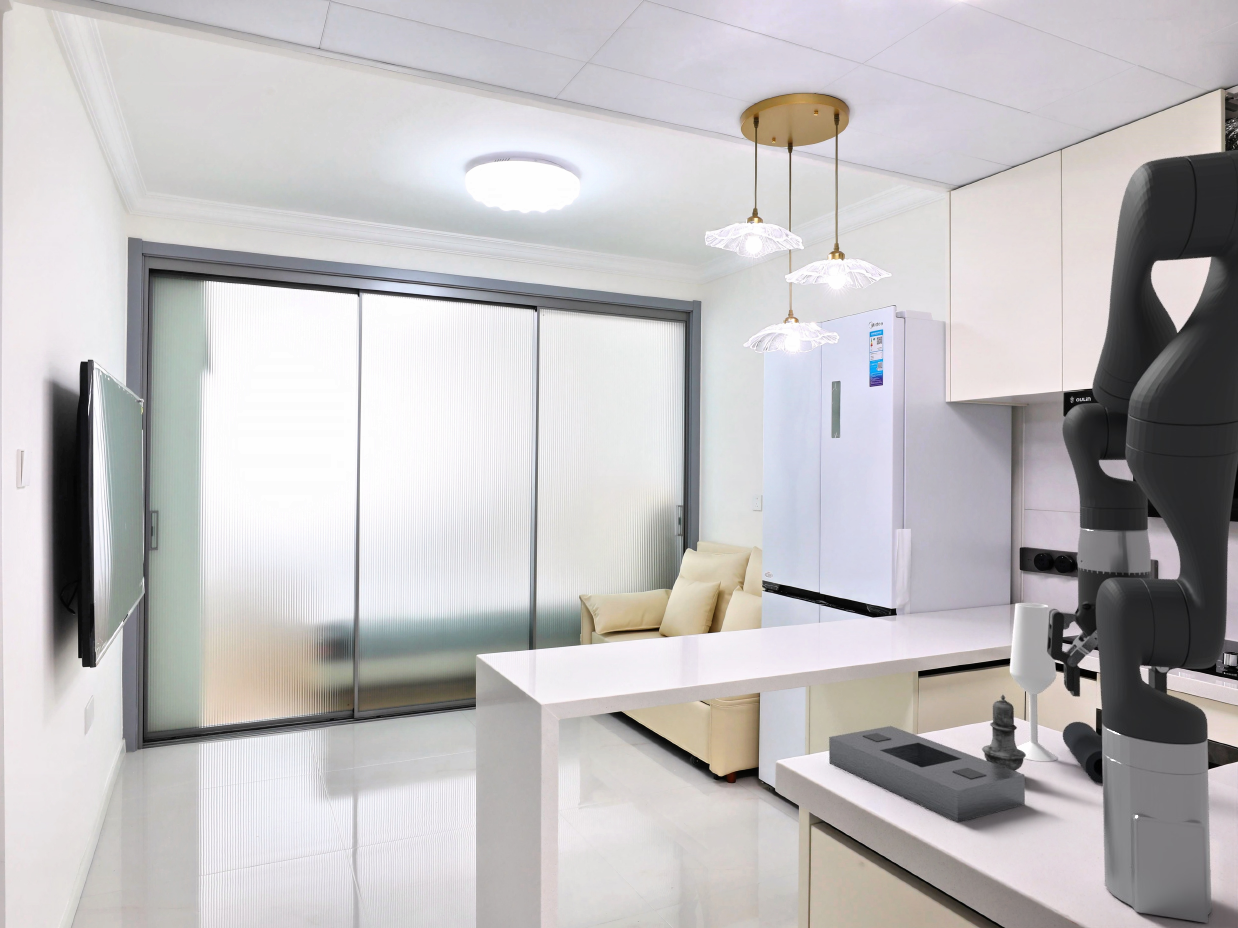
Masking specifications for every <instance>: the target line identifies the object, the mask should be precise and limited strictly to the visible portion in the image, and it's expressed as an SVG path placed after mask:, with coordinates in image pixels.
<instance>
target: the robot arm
mask: <svg viewBox="0 0 1238 928" xmlns="http://www.w3.org/2000/svg"><path fill="white" fill-rule="evenodd" d="M1203 258H1204V259H1205V258H1210V262H1209V267H1208V268H1209V269H1208V273H1207V275H1206V279H1205V283H1204V285H1203V288H1202V291H1201V294H1200V296H1199V298H1198V301H1197V302H1196V305H1195V307H1194V309H1192V311H1191V313H1190V315H1189V316H1188V318H1187V320H1186V321H1185V323H1184V324H1183V326H1182V327H1181V328H1180V329H1179V330H1177V327H1176V325H1175V322H1174V320H1173V319H1172V318H1171V315H1170V314H1169V311H1167V309H1166V307H1165V305H1163V302H1162V301H1161V299H1160V298H1159V296H1158V294H1157V291H1156V290H1155V288H1154V285H1153V281H1152V272H1153V268H1154V264H1155V263H1156V262H1159V261H1160V262H1162V261H1163V262H1164V261H1166V262H1167V261H1178V260H1190V259H1203ZM1111 273H1112V275H1111V284H1110V285H1111V286H1110V295H1109V308H1108V312H1109V313H1108V319H1107V328H1106V333H1105V339H1104V342H1103V346H1102V350H1101V353H1100V354H1099V355H1100V356H1099V360H1098V363H1097V367H1096V369H1095V373H1094V376H1093V377H1094V378H1093V381H1092V386H1091V387H1092V394H1093V397H1094V399H1095V400H1096V402H1097V403H1096V402H1095V403H1093V402H1092V403H1081V404H1077V405H1075V406H1073V407H1072V408H1071V409H1070V410H1069V411H1068V412H1067V414H1066V415H1065V417H1064V419H1063V423H1062V429H1061V430H1062V436H1063V441H1064V445H1065V447H1066V450H1067V451H1066V452H1067V454H1068V455H1069V458H1070V462H1071V465H1072V467H1073V470H1074V475H1075V478H1076V483H1077V484H1076V485H1077V487H1078V496H1079V497H1078V498H1079V536H1078V543H1077V555H1076V562H1077V598H1078V599H1077V604H1078V605H1077V607H1076V610H1075V612H1069V611H1060V610H1058V609H1056V608H1051V609H1049V623H1048V640H1047V653H1048V654H1049V655H1050V656H1051V657H1052V659H1054V660H1055V661H1058V662H1062V663H1063V685H1064V688H1065V689H1066V690H1067V691H1068V692H1069V693H1070V695H1071V696H1072V697H1078V698H1079V697H1081V668H1080V665H1079V664H1080V663H1081V661H1082V660H1083V659H1085V657H1086V656H1087V655H1090V654H1091V653H1092V651H1093V650H1094V649H1095V648H1096V647H1097V649H1098V659H1099V662H1098V663H1099V680H1100V681H1099V683H1100V684H1099V685H1100V703H1101V736H1102V764H1103V783H1102V798H1103V799H1102V804H1103V805H1102V807H1103V808H1102V809H1103V811H1102V812H1103V813H1102V814H1103V847H1104V849H1103V850H1104V851H1103V853H1104V856H1103V857H1104V859H1103V860H1104V861H1103V862H1104V886H1105V887H1106V890H1108V892H1110V894H1111V895H1112V896H1114V897H1116V898H1117V899H1118V900H1120V901H1122V902H1123V903H1125V904H1128V905H1129V906H1131V908H1132V909H1133V910H1134V912H1137V913H1141V914H1149V915H1154V916H1160V917H1168V918H1172V919H1173V918H1174V919H1180V920H1185V921H1186V920H1187V921H1194V922H1199V923H1209V915H1210V913H1211V912H1212V874H1211V872H1212V871H1211V844H1210V843H1211V841H1210V840H1211V839H1210V836H1211V835H1210V806H1209V805H1210V802H1209V801H1210V800H1209V799H1210V795H1209V753H1208V752H1209V749H1208V748H1209V745H1208V738H1209V737H1208V735H1209V734H1208V733H1209V731H1208V719H1207V715H1206V713H1205V711H1204V710H1203V709H1201V708H1200V707H1199V706H1197V705H1195V704H1193V703H1191V702H1189V701H1188V700H1184V699H1182V698H1179V697H1176V696H1173V695H1171V694H1168V673H1169V671H1171V670H1175V669H1190V670H1191V669H1193V670H1197V669H1198V670H1201V669H1202V670H1203V669H1208V668H1212V667H1213V666H1214V665H1215V664H1216V663H1217V662H1218V661H1219V658H1220V656H1221V655H1222V652H1223V649H1224V645H1225V639H1226V632H1227V631H1226V630H1227V613H1228V612H1227V610H1228V608H1227V607H1228V602H1227V601H1228V561H1229V560H1228V557H1229V556H1228V555H1229V554H1228V553H1229V551H1228V550H1229V546H1228V545H1229V534H1230V533H1229V531H1230V522H1231V514H1232V513H1231V512H1232V505H1233V498H1234V491H1235V483H1236V477H1237V471H1238V149H1235V150H1225V151H1216V152H1215V151H1214V152H1207V153H1197V154H1189V155H1182V156H1173V157H1165V158H1159V159H1155V160H1150V161H1147V162H1145V163H1143V164H1141V165H1140V166H1139V167H1138V168H1137V169H1136V170H1135V171H1134V172H1133V173H1132V175H1131V177H1130V178H1129V181H1128V183H1127V185H1126V188H1125V191H1124V194H1123V197H1122V202H1121V206H1120V210H1119V216H1118V223H1117V232H1116V240H1115V250H1114V258H1113V265H1112V272H1111ZM1100 461H1126V463H1127V467H1128V468H1129V471H1130V473H1131V474H1132V476H1133V478H1134V480H1135V481H1134V480H1129V479H1125V478H1120V477H1119V478H1118V477H1113V476H1110V475H1108V474H1107V473H1106V472H1105V471H1104V470H1103V469H1102V467H1101V465H1100ZM1148 500H1149V501H1150V503H1151V504H1152V506H1153V507H1154V508H1155V509H1156V511H1157V512H1158V514H1159V515H1160V517H1161V518H1162V520H1163V521H1164V523H1165V525H1166V526H1167V528H1168V530H1169V532H1170V534H1171V535H1172V536H1171V537H1172V538H1173V540H1174V542H1175V544H1176V546H1177V547H1176V548H1177V550H1178V555H1179V556H1178V557H1179V575H1178V577H1177V578H1174V579H1173V578H1172V579H1170V578H1152V577H1151V575H1152V568H1151V563H1152V562H1151V561H1152V560H1151V559H1152V558H1151V554H1152V553H1151V542H1150V538H1149V532H1148V531H1149V521H1148V520H1149V517H1148V515H1149V513H1148V512H1149V510H1148V509H1149V507H1148ZM1073 622H1075V624H1076V625H1077V626H1078V627H1079V628H1078V629H1080V630H1081V632H1080V633H1079V634H1078V636H1077V637H1076V638H1075V639H1074V640H1073V642H1072V644H1071V645H1070V647H1068V649H1067V650H1066V651H1065V650H1063V645H1064V644H1063V643H1064V630H1069V628H1070V626H1071V624H1072V623H1073ZM1141 666H1144V667H1149V668H1148V669H1147V671H1148V674H1147V675H1148V682H1147V683H1146V682H1145V681H1144V680H1143V678H1142V672H1141Z"/></svg>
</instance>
